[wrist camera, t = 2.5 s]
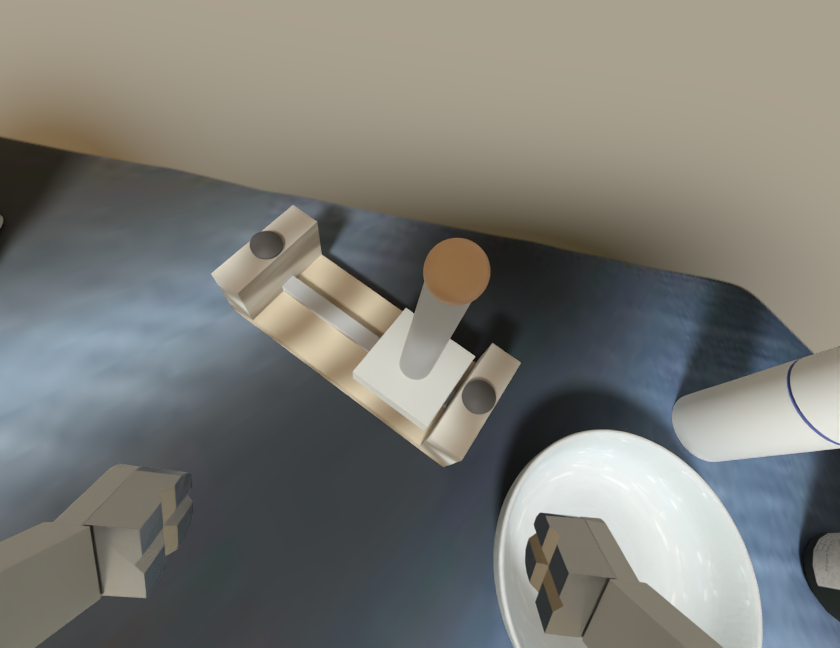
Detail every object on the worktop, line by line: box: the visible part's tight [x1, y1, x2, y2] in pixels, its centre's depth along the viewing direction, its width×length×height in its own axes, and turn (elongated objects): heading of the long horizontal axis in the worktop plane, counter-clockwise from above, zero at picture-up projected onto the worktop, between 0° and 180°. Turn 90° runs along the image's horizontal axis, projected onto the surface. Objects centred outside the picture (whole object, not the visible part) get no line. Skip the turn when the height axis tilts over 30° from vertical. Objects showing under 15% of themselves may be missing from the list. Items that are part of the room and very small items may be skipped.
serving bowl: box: [493, 429, 762, 648], centre depth 32 cm, size 21×21×7 cm
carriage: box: [353, 238, 490, 431], centre depth 28 cm, size 8×8×20 cm
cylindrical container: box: [672, 346, 840, 462], centre depth 31 cm, size 7×7×25 cm
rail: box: [211, 205, 521, 467], centre depth 37 cm, size 26×10×7 cm, turn 55°
